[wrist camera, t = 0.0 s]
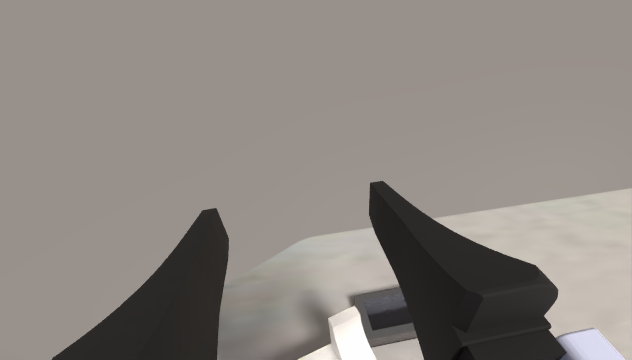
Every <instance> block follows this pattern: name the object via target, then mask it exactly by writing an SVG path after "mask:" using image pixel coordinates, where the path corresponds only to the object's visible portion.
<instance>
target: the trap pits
mask: <svg viewBox="0 0 632 360" xmlns="http://www.w3.org/2000/svg"><path fill="white" fill-rule="evenodd" d="M354 303H355V307H356V308H357V310H358V312H359V313H360V317H361V323H362V327H363V330H364V333H365V336H366V338H367V341H368V343H369V345H370V348H371V347H376V346H381V345H385V344H390V343H395V342H400V341H405V340H410V339H415V338H417V335H416V331H415V328H414V325H413V322H412V319H411V316H410V313H409V311H408V308H407V305H406V302H405V299H404V296H403V294H402V291H401V288H395V289H390V290H385V291H379V292H374V293H369V294H364V295H358V296H354Z"/></svg>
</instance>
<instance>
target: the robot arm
mask: <svg viewBox="0 0 632 360" xmlns="http://www.w3.org/2000/svg"><path fill="white" fill-rule="evenodd" d="M369 216H370V219H371V222H372V225H373V228H374V231H375V234H376V236H377V238H378V240H379V242H380V244H381V246H382V248H383V250H384V252H385V255H386V257H387V259H388V261H389V263H390V265H391V267H392V269H393V271H394V273H395V275H396V278H397V280H398V283H399V285H400V288H401V291H402V294H403V296H404V299H405V302H406V305H407V308H408V311H409V313H410V316H411V319H412V322H413V325H414V328H415V331H416V335H417V338H418V341H419V344H420V347H421V350H422V354H423V357H424V360H625V359H624V358H623V356H622V355H621V354H620V353H619V352H618V351H617V350H616V349H615V348H614V347H613V346H612V345H611V344H610V343H609V342H608V341H607V340H606V338H605V337H604V336H603V335H602V334H601V333H600V332H599V331H598V330H597V329H595V328H589V329H585V330H580V331H575V332H570V333H566V334H563V335H560V336H558V337H557V338H555V337H554V336H553V335H552V334H551V332H550V331H549V330H548V329H550V328H551V324H550V323H549V322H548V321H547V319H546V318H545V317H544V315H545V314H546V313H547V311H548V310H549V309H550V308H551V306H552V305H553V304H554V302H555V301H556V299H557V297H558V289H557V288H556V286H555V285H554V284H553V283H552V282H551V281H550V280H549V279H548V278H547V277H546V275H545V274H544V273H543V272H542V271H541V270H540V269H539V268H538V267H537V266H536V265H533V264H530V263H527V262H524V261H521V260H519V259H516V258H513V257H510V256H507V255H504V254H502V253H499V252H497V251H494V250H492V249H489V248H487V247H485V246H482V245H480V244H478V243H476V242H473V241H471V240H469V239H467V238H465V237H463V236H461V235H459V234H457V233H455V232H454V231H452V230H450V229H448V228H446V227H445V226H443V225H441V224H440V223H438V222H436V221H435V220H433V219H432V218H430V217H429V216H427V215H426V214H424V213H422V212H421V211H420V210H418V209H417V208H416V207H414V206H413V205H412V204H410V203H409V202H408V201H407V200H405V199H404V198H403V197H402V196H400V195H399V194H398V193H397V192H395V191H394V190H393V189H392V188H391V187H389V186H388V185H387V184H386V183H385V182H383V181H380V182H373V183H370V201H369ZM228 250H229V238H228V235H227V233H226V230H225V228H224V226H223V223H222V221H221V218H220V216H219V213H218V211H217V209H216V208H214V209H208V210H203V211H202V212H201V213H200V215H199V216H198V218H197V219H196V220H195V222H194V223H193V225H192V226H191V227H190V229H189V230H188V231H187V233H186V234H185V236H184V237H183V238H182V240H181V241H180V242H179V244H178V245H177V247H176V248H175V249H174V250H173V252H172V253H171V254H170V255H169V256H168V258H167V259H166V260H165V261H164V262H163V264H162V265H161V266H160V267H159V268H158V269H157V271H155V273H154V274H153V275H152V276H151V277H150V278H149V279H148V280H147V281H146V282H145V283H144V284H143V285H142V286H141V287H140V288H139V289H138V290H137V291H136V292H135V293H134V294H133V295H131V296H130V297H129V298H128V299H127V300H126V301H125V302H124V303H123V304H122V305H121V306H120V307H118V308H117V309H116V310H115V311H114V312H113V313H111V314H110V315H109V316H108V317H107V318H106V319H104V320H103V321H102V322H101V323H99V324H98V325H97V326H95V327H94V328H93V329H92V330H90V331H89V332H88V333H86V334H85V335H84V336H82V337H81V338H80V339H78V340H77V341H76V342H74V343H73V344H72V345H70V346H69V347H67V348H66V349H65V350H63V351H62V352H61V353H60V354H58V355H56V356H55V357H53V359H52V360H217V345H218V327H219V313H220V305H221V299H222V293H223V287H224V280H225V275H226V269H227V262H228Z"/></svg>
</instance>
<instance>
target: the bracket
mask: <svg viewBox="0 0 632 360" xmlns="http://www.w3.org/2000/svg"><path fill="white" fill-rule="evenodd" d="M328 322H329V329H330V337H331V344H329V345H326V346H324V347H322V348H320V349H318V350H316V351H314V352H312V353H310V354H308V355H306V356H304V357H302V358H300V359H298V360H377V359H376V358H375V356H374V354H373V352H372V350H371V348H370V345H369V343H368V341H367V338H366V336H365V333H364V330H363V327H362V323H361V317H360V313H359V312H358V310H357V308H356V307H355V306H353V307H351V308H349V309H347V310H344V311H342V312H340V313H338V314H336V315H334V316H331V317H329V318H328Z"/></svg>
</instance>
